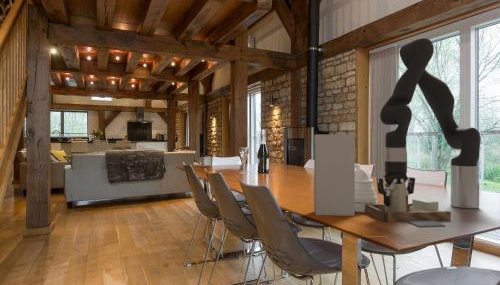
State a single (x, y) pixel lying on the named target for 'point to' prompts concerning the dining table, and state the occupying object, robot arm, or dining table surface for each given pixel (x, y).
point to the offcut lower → (418, 210)
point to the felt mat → (425, 223)
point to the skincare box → (397, 199)
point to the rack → (405, 214)
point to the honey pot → (363, 189)
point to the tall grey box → (334, 175)
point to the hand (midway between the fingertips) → (395, 205)
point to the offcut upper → (425, 204)
